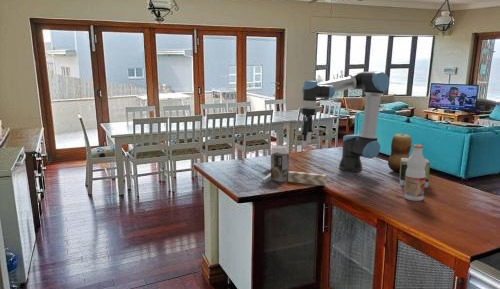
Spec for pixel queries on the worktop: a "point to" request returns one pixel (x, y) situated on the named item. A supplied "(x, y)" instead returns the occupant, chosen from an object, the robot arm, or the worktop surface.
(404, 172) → the tea box
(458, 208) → the worktop surface
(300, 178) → the beech stick
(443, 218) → the worktop surface
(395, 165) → the butternut squash
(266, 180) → the stop batten
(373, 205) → the worktop surface
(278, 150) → the cup
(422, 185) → the fruit juice
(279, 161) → the coffee box
